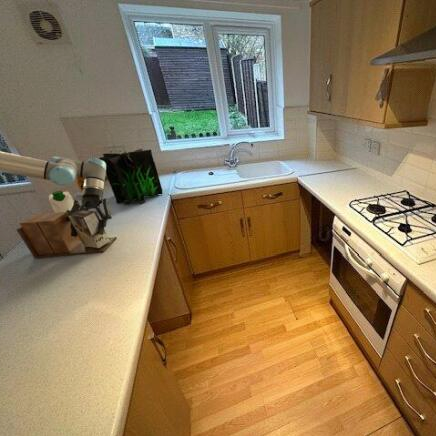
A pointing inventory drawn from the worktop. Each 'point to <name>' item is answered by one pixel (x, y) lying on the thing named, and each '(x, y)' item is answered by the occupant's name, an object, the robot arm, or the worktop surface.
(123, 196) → the decorative plant
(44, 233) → the rack
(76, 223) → the coffee box
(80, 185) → the coffee package
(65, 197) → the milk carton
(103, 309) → the worktop surface
